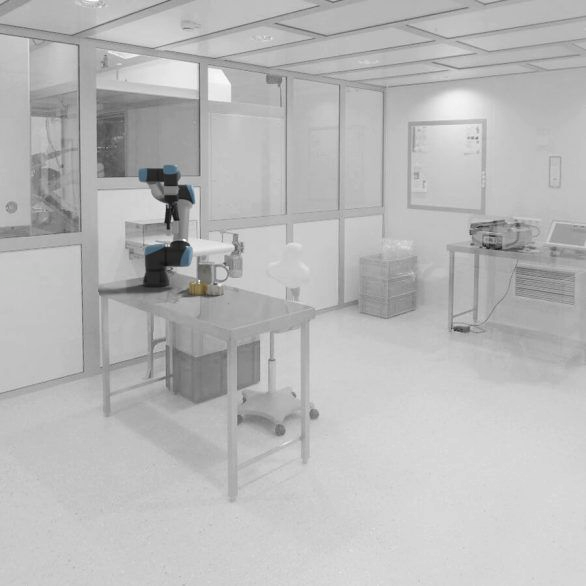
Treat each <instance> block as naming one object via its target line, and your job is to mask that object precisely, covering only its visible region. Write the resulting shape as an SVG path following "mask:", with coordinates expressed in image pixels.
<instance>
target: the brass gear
mask: <svg viewBox="0 0 586 586" xmlns="http://www.w3.org/2000/svg"><path fill="white" fill-rule="evenodd" d="M196 281H197V280H195V281H190V282H189V284H188V291H189V292H188V293H189V294H190V295H192V296H200V295H201V296H202V295H206V294H207V286H206V282H202V281H200V283H196Z"/></svg>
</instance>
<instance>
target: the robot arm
mask: <svg viewBox="0 0 586 586" xmlns="http://www.w3.org/2000/svg"><path fill="white" fill-rule="evenodd" d="M137 174H138V181H139V182H140V183H146V185H147V187H149V190H150V193H151V195H152V196H153V198H154V199H155V200H157V201H159V202H160V203H162V204H165V213H164V222H163V223H164V224H165V233H166V234H165V235H166V236H167V237H172V241H171V242H170V243H169V246H166V244H165V243H157V244H152V245H151V244H150V245H148V246H146V247H145V248H144V266H145V270H144V271H145V272H144V276H143V279H142V286H143V285H144V287H148V288H161V287H167V286H169V285H170V278H169V276H168V273H167V267H168V268H174V267H175V268H185V267H189V266H191V264H192V261H193V254H194V252H193V251H194V250H193V247H192V246H191V244H190V242H189V230H190V229H189V227H190V213H191V212H190V211H191V209H192V208H193V205H195V204H196V197H195V190H194V185H192V184H179V181H180V179H181V176H182V175H181V171H180V170H179V169H178V165H177V164H163V167H160V168H159V167H158V168H156V167H155V168H153V167H143V168H142V167H141V168H139V170H138V173H137ZM172 220H173V221H172ZM172 233H173V235H172Z"/></svg>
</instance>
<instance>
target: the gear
mask: <svg viewBox="0 0 586 586" xmlns="http://www.w3.org/2000/svg"><path fill="white" fill-rule="evenodd" d="M206 294H207V295H209V296H210V295H211V296H220V295H225V285H224V284H223V283H218V282H215V283H213V284H209V285H207V293H206Z"/></svg>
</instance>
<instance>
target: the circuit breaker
mask: <svg viewBox="0 0 586 586" xmlns="http://www.w3.org/2000/svg"><path fill="white" fill-rule="evenodd" d="M197 265H198V266H197V274H198V275H197V279H198V280H197V281H202V282H206V286H207V285H209V284H213V283H216V282H217V267H215V262H214V261H200V262H199V263H197Z"/></svg>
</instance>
